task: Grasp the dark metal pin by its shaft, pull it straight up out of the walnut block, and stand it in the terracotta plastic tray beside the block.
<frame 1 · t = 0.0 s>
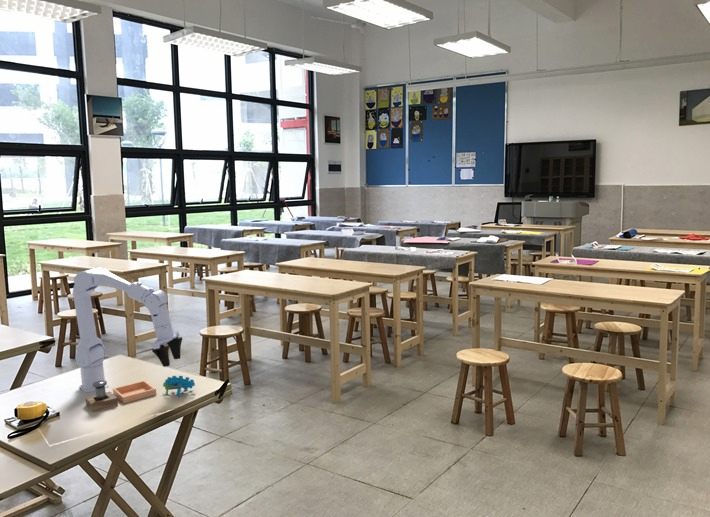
hand: (172, 362, 211), 11 cm above the table, tool pointing down, fingers open, 7 cm apart
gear: (179, 393, 211), on the table
tray: (134, 395, 210), on the table
pin block: (102, 406, 202), on the table
pin: (102, 404, 202), resting on pin block
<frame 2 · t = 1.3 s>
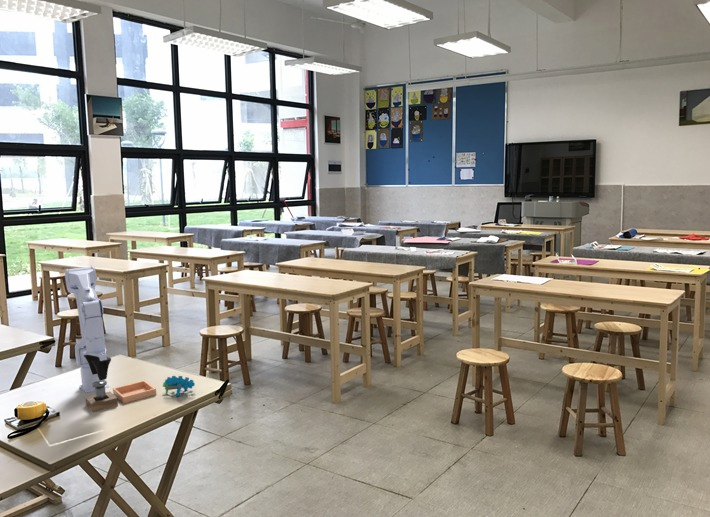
hand: (99, 376, 200), 10 cm above the table, tool pointing down, fingers open, 7 cm apart
nothing on the table moved.
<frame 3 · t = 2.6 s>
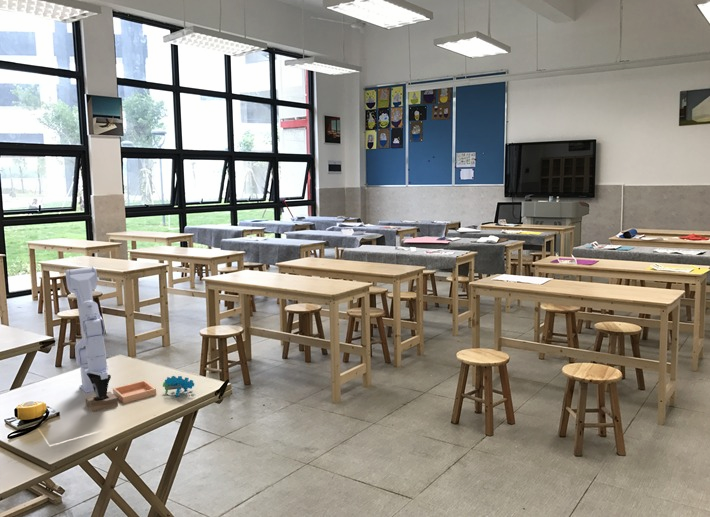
hand: (100, 394, 201), 4 cm above the table, tool pointing down, fingers closed on pin, 4 cm apart
pin: (102, 404, 202), resting on pin block, touching gripper
everything else where it was.
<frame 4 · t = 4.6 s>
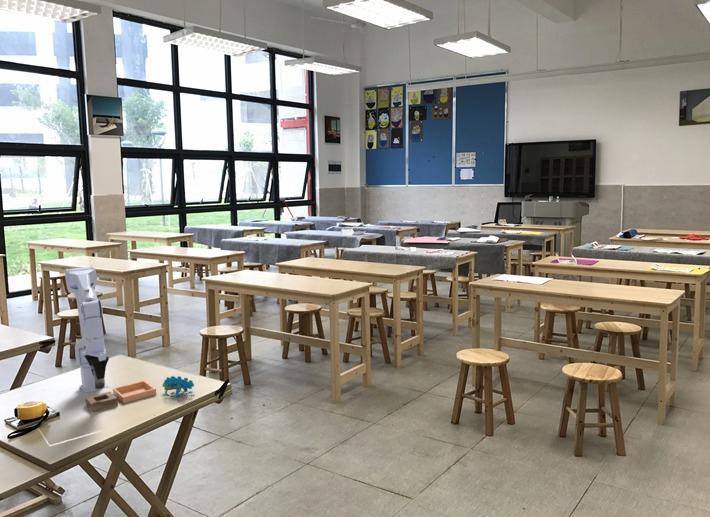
hand: (98, 376, 200), 10 cm above the table, tool pointing down, fingers closed on pin, 4 cm apart
pin: (100, 387, 201), point 7 cm above the table, touching gripper
everything else where it was.
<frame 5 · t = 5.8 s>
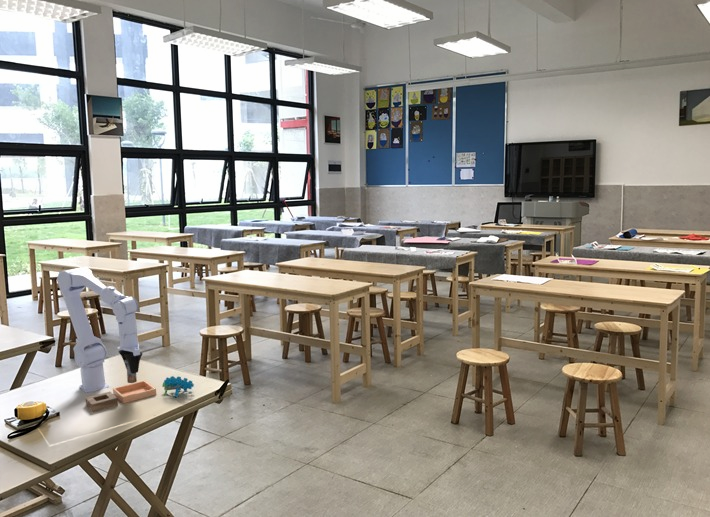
hand: (132, 371, 209), 9 cm above the table, tool pointing down, fingers closed on pin, 4 cm apart
pin: (132, 381, 209), point 5 cm above the table, touching gripper
everything else where it was.
when the fingers open (5 cm above the table, at t = 6.8 s): pin drops 1 cm, resting on tray.
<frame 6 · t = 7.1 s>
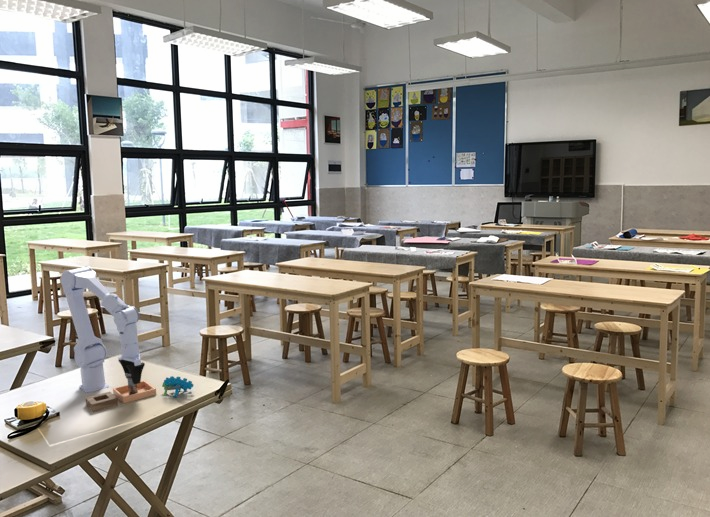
hand: (133, 380, 209), 5 cm above the table, tool pointing down, fingers open, 7 cm apart
pin: (133, 394, 210), point 1 cm above the table, touching tray
everything else where it was.
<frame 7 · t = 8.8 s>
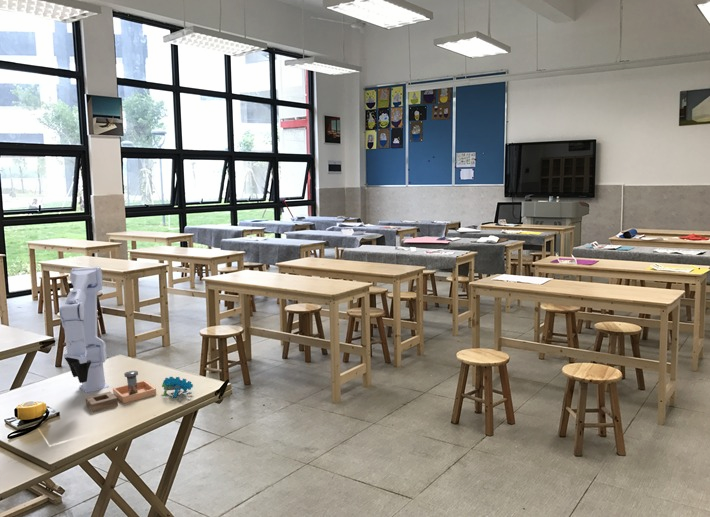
hand: (80, 379, 201), 10 cm above the table, tool pointing down, fingers open, 7 cm apart
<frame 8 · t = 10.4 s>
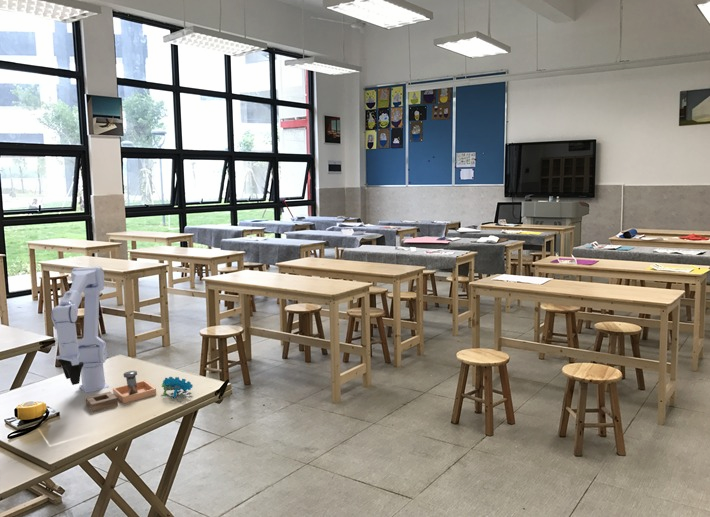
hand: (72, 380, 200), 9 cm above the table, tool pointing down, fingers open, 7 cm apart
at the end: pin inside the target area on the tray (0.5 cm from its centre), point 0.6 cm above the tray's base; the gripper is holding nothing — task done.
